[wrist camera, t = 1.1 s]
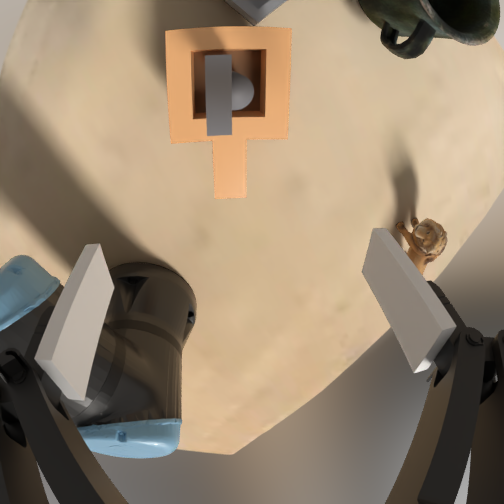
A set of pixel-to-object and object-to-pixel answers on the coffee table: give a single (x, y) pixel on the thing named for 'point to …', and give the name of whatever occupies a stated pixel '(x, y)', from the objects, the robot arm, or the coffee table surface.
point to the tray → (254, 8)
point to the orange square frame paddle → (243, 122)
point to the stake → (226, 86)
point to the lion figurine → (424, 241)
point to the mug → (432, 22)
